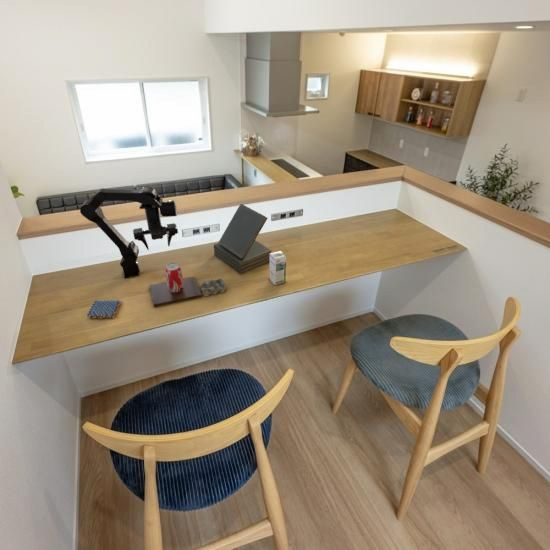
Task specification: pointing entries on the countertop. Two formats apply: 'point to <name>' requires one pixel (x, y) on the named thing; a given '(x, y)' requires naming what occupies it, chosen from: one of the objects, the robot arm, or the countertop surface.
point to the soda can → (174, 277)
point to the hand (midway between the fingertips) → (158, 247)
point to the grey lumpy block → (212, 286)
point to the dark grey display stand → (243, 241)
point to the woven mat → (104, 309)
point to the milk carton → (277, 267)
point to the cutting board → (167, 297)
